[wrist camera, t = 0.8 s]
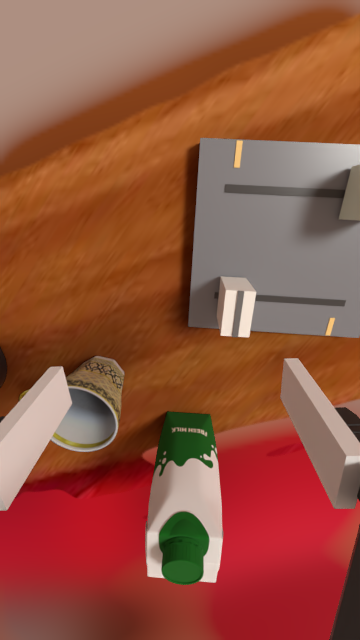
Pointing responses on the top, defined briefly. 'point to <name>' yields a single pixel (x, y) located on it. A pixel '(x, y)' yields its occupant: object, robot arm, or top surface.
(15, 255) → the top surface
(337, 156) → the console
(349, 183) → the fader
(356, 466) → the robot arm
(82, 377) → the ceramic cup
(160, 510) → the milk carton
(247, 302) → the block
